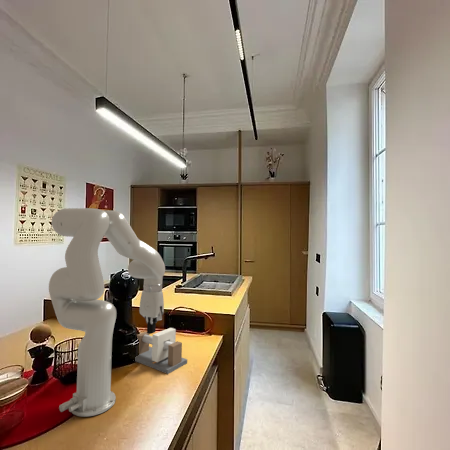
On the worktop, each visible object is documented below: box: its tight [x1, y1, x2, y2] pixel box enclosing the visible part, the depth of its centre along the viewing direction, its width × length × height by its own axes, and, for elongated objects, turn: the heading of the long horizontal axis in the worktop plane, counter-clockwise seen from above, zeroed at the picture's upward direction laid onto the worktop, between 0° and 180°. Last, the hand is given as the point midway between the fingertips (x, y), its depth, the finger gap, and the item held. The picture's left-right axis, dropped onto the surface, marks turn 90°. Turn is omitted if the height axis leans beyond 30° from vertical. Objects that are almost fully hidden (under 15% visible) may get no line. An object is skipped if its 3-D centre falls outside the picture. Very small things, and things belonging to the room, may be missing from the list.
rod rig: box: [134, 331, 188, 375], centre depth 119 cm, size 11×22×9 cm, turn 57°
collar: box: [151, 327, 177, 362], centre depth 117 cm, size 10×3×10 cm, turn 147°
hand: (151, 332), depth 120 cm, fingers closed
